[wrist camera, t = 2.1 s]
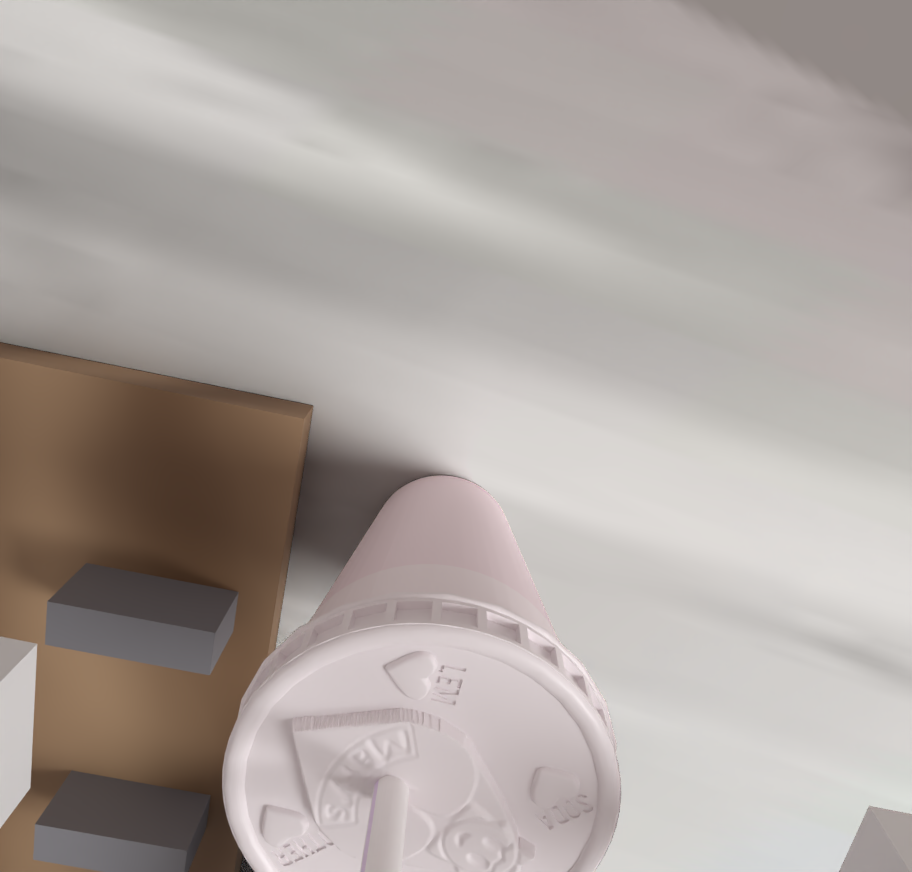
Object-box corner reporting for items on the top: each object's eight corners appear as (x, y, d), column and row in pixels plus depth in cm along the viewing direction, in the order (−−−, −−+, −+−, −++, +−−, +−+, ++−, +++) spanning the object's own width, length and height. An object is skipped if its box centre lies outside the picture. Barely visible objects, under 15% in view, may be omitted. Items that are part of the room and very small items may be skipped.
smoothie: (417, 377, 20) (314, 752, 7) (608, 519, 21) (839, 1079, 8) (279, 557, 22) (-20, 1144, 9) (464, 680, 23) (455, 1370, 10)
